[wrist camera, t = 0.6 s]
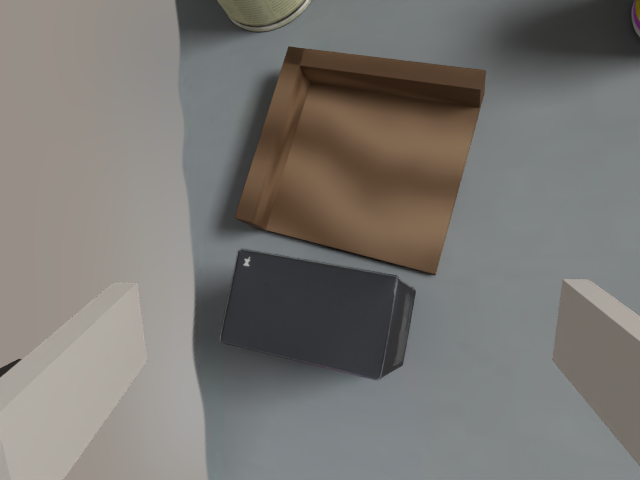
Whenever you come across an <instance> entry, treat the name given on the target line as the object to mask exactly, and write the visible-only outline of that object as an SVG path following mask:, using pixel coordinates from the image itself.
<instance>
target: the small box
mask: <svg viewBox="0 0 640 480" xmlns="http://www.w3.org/2000/svg"><path fill="white" fill-rule="evenodd" d="M415 293H416V291H415V289H414V288H413V287H410V286H409V285H407V284H405V283H404V282H402V281H401V280H400V279H399V277H398V276H396V275H391V274H386V273H380V272H374V271H369V270H363V269H357V268H351V267H345V266H340V265H334V264H329V263H323V262H317V261H311V260H306V259H300V258H293V257H288V256H282V255H277V254H271V253H265V252H259V251H253V250H247V249H240V250H238V252H237V257H236V262H235V268H234V272H233V277H232V281H231V286H230V291H229V296H228V300H227V305H226V310H225V315H224V319H223V324H222V329H221V334H220V339H219V340H220V342H222V343H225V344H229V345H233V346H237V347H242V348H246V349H250V350H254V351H258V352H262V353H267V354H271V355H275V356H279V357H283V358H288V359H292V360H296V361H300V362H304V363H308V364H312V365H316V366H320V367H325V368H329V369H333V370H337V371H341V372H345V373H349V374H353V375H357V376H361V377H365V378H369V379H374V380H380V379H381V378H382V377H384V376H385V375H387V374H389V373H390V372H392V371H394V370H395V369H397V368H399V367H401V366H402V365H403V361H404V356H405V350H406V345H407V339H408V333H409V327H410V322H411V316H412V310H413V305H414V299H415Z"/></svg>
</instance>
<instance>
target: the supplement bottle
mask: <svg viewBox="0 0 640 480" xmlns="http://www.w3.org/2000/svg"><path fill="white" fill-rule="evenodd" d="M631 16H632V23H633V27H634V29H635V31H636V33H637V34H638V36H639V37H640V0H634V3H633V7H632V12H631Z"/></svg>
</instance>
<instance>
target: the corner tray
mask: <svg viewBox="0 0 640 480" xmlns="http://www.w3.org/2000/svg"><path fill="white" fill-rule="evenodd" d="M485 75H486V70H478V69H470V68H461V67H453V66H445V65H436V64H428V63H420V62H412V61H403V60H395V59H387V58H379V57H370V56H362V55H354V54H346V53H337V52H329V51H321V50H313V49H304V48H296V47H288V50H287V53H286V56H285V59H284V63H283V66H282V69H281V72H280V75H279V78H278V82H277V85H276V88H275V91H274V94H273V97H272V101H271V104H270V107H269V110H268V113H267V116H266V120H265V123H264V126H263V129H262V132H261V136H260V139H259V142H258V145H257V148H256V151H255V155H254V158H253V161H252V164H251V167H250V170H249V174H248V177H247V180H246V183H245V186H244V190H243V193H242V196H241V199H240V202H239V205H238V209H237V212H236V215H235V218H236V219H238V220H240V221H242V222H244V223H246V224H248V225H250V226H252V227H255V228H259V229H263V230H266V231H270V232H274V233H278V234H282V235H285V236H289V237H293V238H297V239H301V240H305V241H308V242H312V243H316V244H320V245H324V246H327V247H331V248H335V249H339V250H343V251H346V252H350V253H354V254H358V255H362V256H365V257H369V258H373V259H377V260H381V261H385V262H388V263H392V264H396V265H400V266H404V267H407V268H411V269H415V270H419V271H423V272H426V273H430V274H434V275H436V271H437V267H438V263H439V260H440V256H441V252H442V249H443V245H444V241H445V237H446V234H447V230H448V226H449V223H450V219H451V215H452V211H453V208H454V204H455V200H456V197H457V193H458V189H459V185H460V182H461V178H462V174H463V171H464V167H465V163H466V159H467V156H468V152H469V148H470V145H471V141H472V137H473V133H474V130H475V126H476V122H477V119H478V115H479V111H480V107H481V104H482V100H483V96H484V90H485Z"/></svg>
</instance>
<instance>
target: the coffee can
mask: <svg viewBox="0 0 640 480" xmlns="http://www.w3.org/2000/svg"><path fill="white" fill-rule="evenodd" d="M217 1H218V3H219V4H220V5H221V7H222V8H223V9H224V11H225V12H226V14H227V16H228V17H229V18H230V20H231V21H232V22H233V23H235V24H236V25H237V26H239V27H241V28H243V29H246V30H249V31H254V32H257V31H260V32H263V31H270V30H274V29H277V28H280V27H282V26H284V25H286V24H288V23H290V22H291V21H293V20H294V19H295V18H296V17H297V16H299V15H300V14H301V13H302V12H303V11H304V10H305V9H306V8H307V6H308V5H309V4H310V2H311V1H312V0H217Z"/></svg>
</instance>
